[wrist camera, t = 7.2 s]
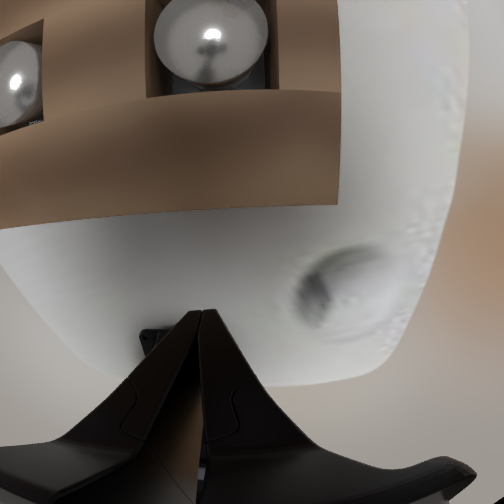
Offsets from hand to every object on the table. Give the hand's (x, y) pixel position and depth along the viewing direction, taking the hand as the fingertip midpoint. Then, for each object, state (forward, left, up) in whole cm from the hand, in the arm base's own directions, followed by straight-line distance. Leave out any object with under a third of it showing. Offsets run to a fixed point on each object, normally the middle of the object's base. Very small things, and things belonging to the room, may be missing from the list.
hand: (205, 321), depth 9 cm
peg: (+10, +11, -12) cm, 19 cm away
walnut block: (+10, +5, -12) cm, 16 cm away
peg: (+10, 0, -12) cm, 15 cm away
